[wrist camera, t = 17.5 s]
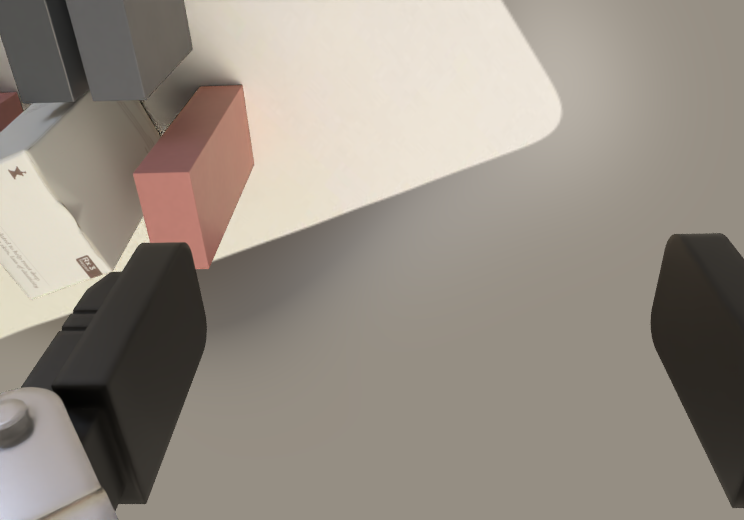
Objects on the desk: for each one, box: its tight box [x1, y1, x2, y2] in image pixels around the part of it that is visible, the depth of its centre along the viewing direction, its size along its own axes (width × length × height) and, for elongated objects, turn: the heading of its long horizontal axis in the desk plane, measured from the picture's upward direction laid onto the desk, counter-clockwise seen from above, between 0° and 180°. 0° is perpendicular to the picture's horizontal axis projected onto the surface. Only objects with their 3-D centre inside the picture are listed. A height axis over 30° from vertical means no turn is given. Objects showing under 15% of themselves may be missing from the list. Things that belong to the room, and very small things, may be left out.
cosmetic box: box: [0, 89, 161, 300], centre depth 43 cm, size 8×6×15 cm
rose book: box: [133, 85, 254, 269], centre depth 43 cm, size 6×3×14 cm, turn 3°
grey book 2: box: [66, 0, 192, 102], centre depth 40 cm, size 7×3×10 cm, turn 3°
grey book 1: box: [0, 0, 89, 103], centre depth 40 cm, size 7×3×10 cm, turn 2°
